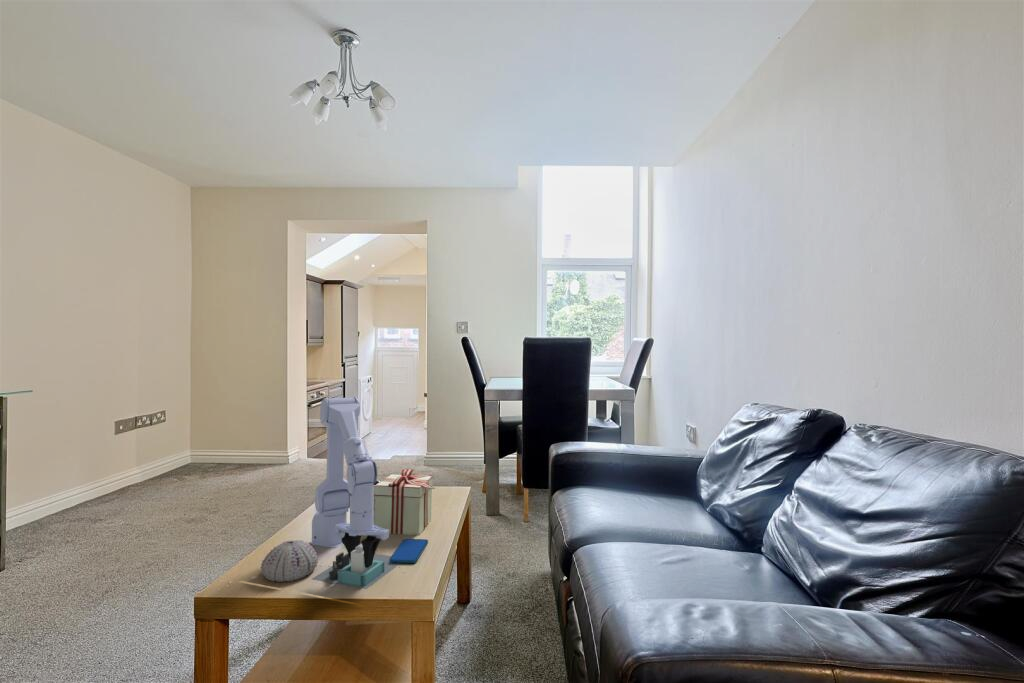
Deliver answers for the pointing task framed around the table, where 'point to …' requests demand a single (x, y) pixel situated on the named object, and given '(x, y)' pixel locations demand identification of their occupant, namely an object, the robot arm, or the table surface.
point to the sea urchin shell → (289, 561)
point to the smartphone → (409, 551)
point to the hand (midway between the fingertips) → (361, 564)
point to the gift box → (404, 503)
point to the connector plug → (359, 560)
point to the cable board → (344, 576)
